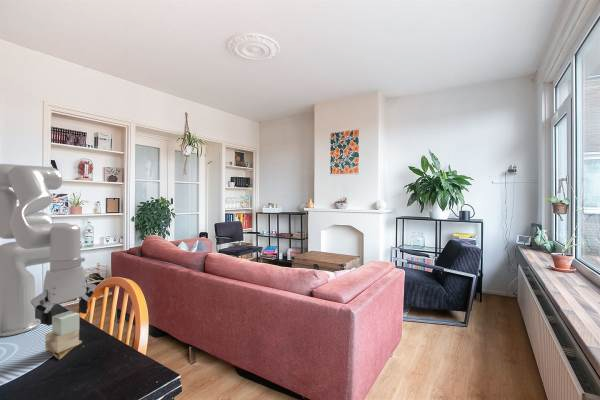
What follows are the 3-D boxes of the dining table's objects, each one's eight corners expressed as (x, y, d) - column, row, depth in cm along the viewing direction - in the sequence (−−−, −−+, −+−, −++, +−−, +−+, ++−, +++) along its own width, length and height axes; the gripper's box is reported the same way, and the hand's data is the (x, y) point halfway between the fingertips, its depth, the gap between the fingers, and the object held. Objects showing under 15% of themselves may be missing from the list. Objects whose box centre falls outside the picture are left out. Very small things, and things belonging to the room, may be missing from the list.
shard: (58, 362, 86) (58, 356, 86) (31, 363, 86) (31, 357, 86) (83, 344, 97) (83, 338, 97) (58, 345, 97) (58, 339, 97)
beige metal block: (45, 349, 91) (45, 333, 91) (66, 340, 96) (66, 325, 96) (57, 353, 88) (57, 336, 88) (78, 343, 94) (78, 328, 94)
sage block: (52, 332, 91) (52, 316, 91) (70, 325, 96) (70, 310, 96) (61, 335, 89) (61, 319, 89) (79, 329, 94) (79, 313, 93)
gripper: (88, 257, 102) (88, 307, 102) (24, 269, 86) (25, 327, 86) (101, 260, 98) (101, 310, 99) (37, 272, 83) (38, 332, 83)
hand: (66, 318), depth 92 cm, fingers open, 9 cm apart
